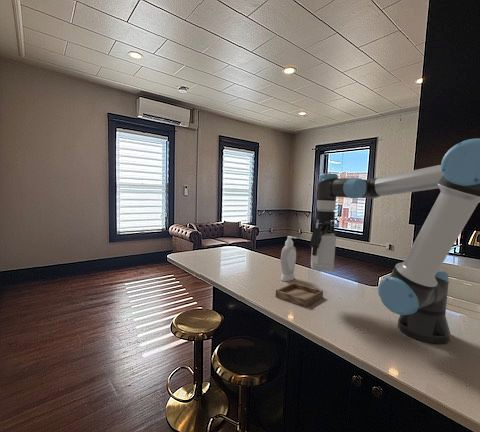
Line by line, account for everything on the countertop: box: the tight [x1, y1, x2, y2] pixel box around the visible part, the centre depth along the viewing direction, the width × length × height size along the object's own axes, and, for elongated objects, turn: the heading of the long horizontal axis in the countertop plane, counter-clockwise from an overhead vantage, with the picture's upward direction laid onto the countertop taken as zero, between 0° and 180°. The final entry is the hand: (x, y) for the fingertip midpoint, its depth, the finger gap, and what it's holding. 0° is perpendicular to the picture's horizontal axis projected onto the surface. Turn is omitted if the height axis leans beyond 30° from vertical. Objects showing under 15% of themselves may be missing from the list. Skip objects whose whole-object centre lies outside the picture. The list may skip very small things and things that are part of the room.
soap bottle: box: [280, 235, 298, 282], centre depth 145 cm, size 13×8×24 cm, turn 130°
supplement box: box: [310, 233, 337, 273], centre depth 113 cm, size 9×9×15 cm
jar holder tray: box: [275, 282, 324, 308], centre depth 122 cm, size 16×16×3 cm
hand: (322, 260), depth 113 cm, fingers closed on supplement box, 12 cm apart
